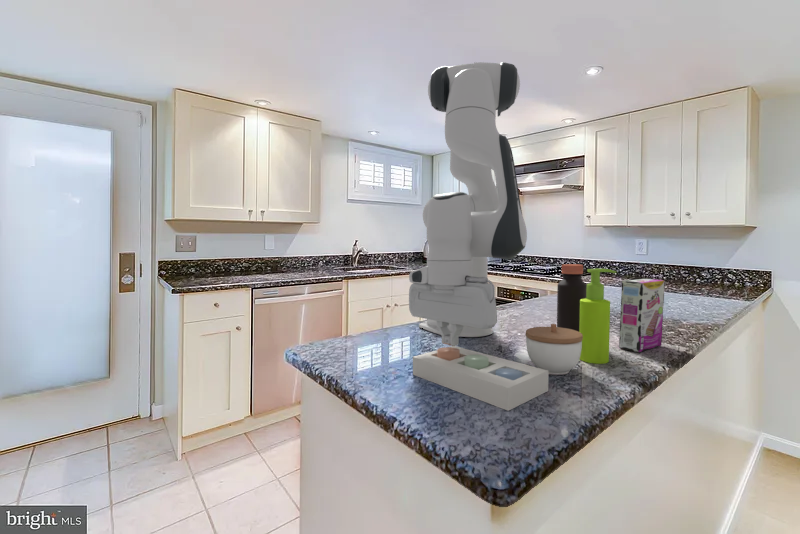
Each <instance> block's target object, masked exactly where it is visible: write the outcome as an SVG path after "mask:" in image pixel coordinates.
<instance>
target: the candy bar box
mask: <svg viewBox="0 0 800 534" xmlns="http://www.w3.org/2000/svg"><path fill="white" fill-rule="evenodd" d="M665 286H666V281H665V280H663V279H656V278H655V279H652V278H639V279H630V280H629V279H628V280H622V281H621V294H620V297H621V299H620V319H619V321H620V323H619V338H618V339H619V342H618V344H619V345H618V348H619V349H622V350H627V351H630V352H634V353H641V352H645V351H648V350H651V349H653V348H658V347H661V346H662V342H663V341H662V339H663V338H662V337H663V324H664V323H663V319H664V305H665V304H664V303H665Z"/></svg>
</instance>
